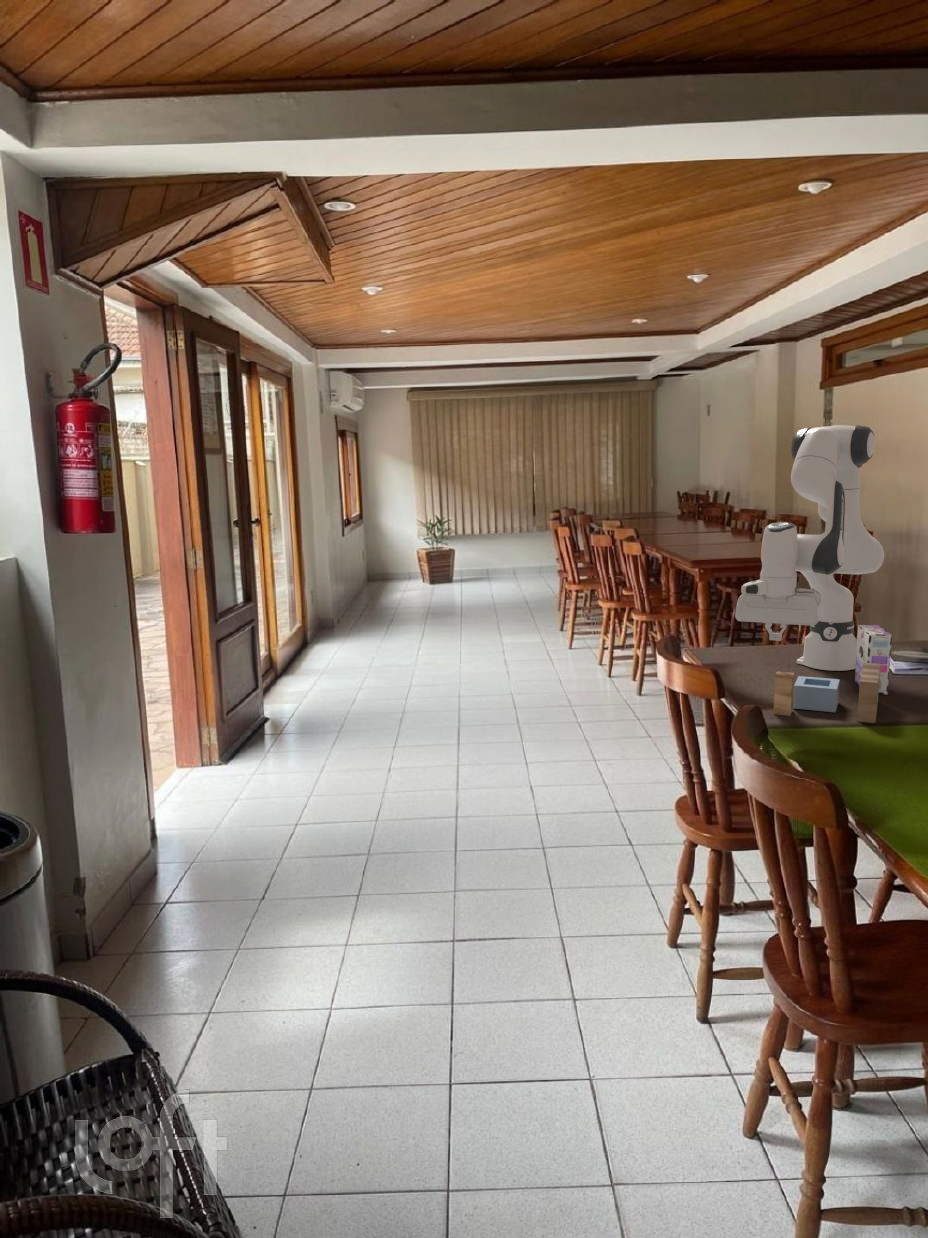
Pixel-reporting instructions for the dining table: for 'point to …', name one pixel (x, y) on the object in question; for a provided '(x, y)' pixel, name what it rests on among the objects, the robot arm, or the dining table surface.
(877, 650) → the candy box
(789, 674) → the tan wooden block
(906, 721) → the dining table surface
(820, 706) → the socket block
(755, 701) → the dining table surface
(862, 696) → the wall
